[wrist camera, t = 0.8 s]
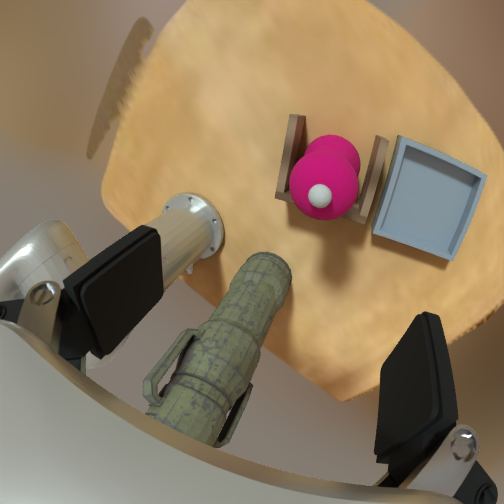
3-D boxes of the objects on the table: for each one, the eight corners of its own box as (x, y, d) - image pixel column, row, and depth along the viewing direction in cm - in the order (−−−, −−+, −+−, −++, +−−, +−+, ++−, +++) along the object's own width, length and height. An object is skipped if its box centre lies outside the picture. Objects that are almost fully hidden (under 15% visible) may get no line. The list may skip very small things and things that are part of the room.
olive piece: (260, 234, 45) (121, 423, 16) (308, 284, 46) (231, 489, 18) (228, 263, 50) (102, 424, 21) (273, 306, 51) (187, 479, 23)
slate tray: (447, 252, 35) (452, 261, 32) (371, 225, 38) (372, 233, 35) (478, 170, 28) (487, 175, 25) (397, 135, 31) (401, 136, 28)
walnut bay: (363, 208, 37) (364, 224, 32) (285, 186, 40) (274, 198, 35) (382, 137, 31) (389, 140, 27) (298, 114, 34) (289, 114, 29)
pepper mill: (304, 177, 38) (265, 233, 22) (311, 128, 34) (275, 141, 18) (353, 188, 36) (355, 254, 20) (363, 139, 33) (378, 162, 16)
